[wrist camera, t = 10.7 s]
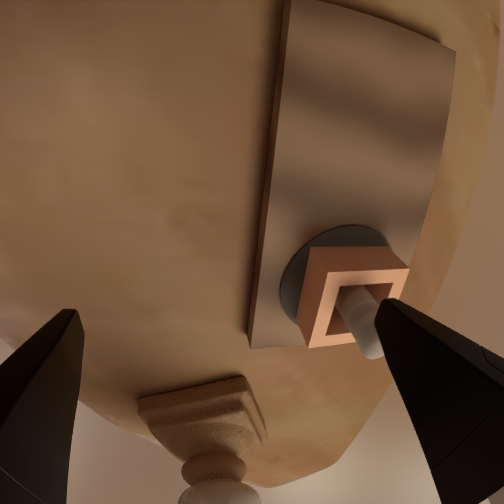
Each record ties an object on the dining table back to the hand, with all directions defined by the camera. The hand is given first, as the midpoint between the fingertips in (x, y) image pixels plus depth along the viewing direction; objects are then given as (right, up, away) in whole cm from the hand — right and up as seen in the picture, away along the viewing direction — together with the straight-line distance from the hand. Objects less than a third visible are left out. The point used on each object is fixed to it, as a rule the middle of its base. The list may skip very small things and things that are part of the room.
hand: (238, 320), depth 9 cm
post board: (+7, +6, +12) cm, 15 cm away
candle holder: (-4, -15, +22) cm, 27 cm away
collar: (+7, 0, +14) cm, 15 cm away
